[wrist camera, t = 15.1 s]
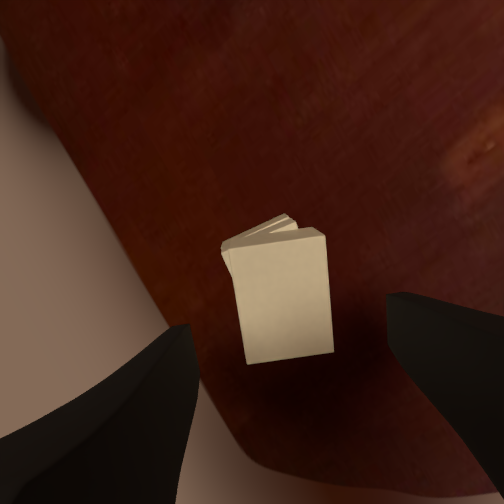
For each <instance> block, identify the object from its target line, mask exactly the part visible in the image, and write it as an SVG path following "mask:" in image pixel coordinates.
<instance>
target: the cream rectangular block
mask: <svg viewBox="0 0 504 504" xmlns="http://www.w3.org/2000/svg"><path fill="white" fill-rule="evenodd" d="M228 254H229V260H230V266H231V272H232V278H233V284H234V290H235V296H236V302H237V308H238V314H239V320H240V326H241V333H242V339H243V345H244V351H245V357H246V363H247V364H248V365H249V364H256V363H262V362H269V361H276V360H283V359H290V358H297V357H304V356H311V355H318V354H325V353H332V352H334V344H333V331H332V318H331V304H330V291H329V278H328V265H327V251H326V238H325V235H324V234H322V233H321V232H319V231H318V230H316V229H315V228H313V227H307V228H301V229H294V230H287V231H280V232H273V233H266V234H259V235H252V236H245V237H238V238H231V239H230V242H229V247H228Z"/></svg>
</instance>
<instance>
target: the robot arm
mask: <svg viewBox="0 0 504 504" xmlns="http://www.w3.org/2000/svg"><path fill="white" fill-rule="evenodd" d="M386 303H387V340H388V346H389V347H390V349H391V351H392V352H393V354H394V355H395V357H396V359H397V360H398V362H399V363H400V365H401V366H402V368H403V369H404V370H405V371H406V373H407V374H408V375H409V376H410V378H411V379H412V380H413V381H414V382H415V384H416V385H417V386H418V387H419V388H420V389H421V391H422V392H423V393H424V394H425V395H426V396H427V398H428V399H429V400H430V401H431V402H432V404H433V405H434V406H435V407H436V408H437V409H438V411H439V412H440V413H441V414H442V415H443V416H444V418H445V419H446V420H447V421H448V422H449V423H450V425H451V426H452V427H453V428H454V430H455V431H456V432H457V433H458V435H459V436H460V437H461V439H462V440H463V441H464V443H465V444H466V445H467V447H468V448H469V450H470V451H471V452H472V454H473V455H474V457H475V458H476V460H477V461H478V462H479V464H480V465H481V467H482V468H483V469H484V471H485V472H486V474H487V475H488V477H489V478H490V480H491V481H492V482H493V484H494V485H495V487H496V488H497V490H498V491H499V493H500V494H501V496H502V497H503V499H504V317H503V316H499V315H495V314H490V313H486V312H482V311H478V310H474V309H470V308H467V307H463V306H459V305H455V304H452V303H448V302H444V301H441V300H437V299H433V298H430V297H426V296H422V295H418V294H413V293H408V292H399V293H392V294H386ZM199 378H200V370H199V365H198V361H197V356H196V352H195V347H194V343H193V338H192V333H191V329H190V324H184V325H177V326H172V327H171V328H169V329H168V330H166V331H165V332H164V333H163V334H161V335H160V336H159V337H158V338H157V339H155V340H154V341H153V342H152V343H151V344H149V345H148V346H147V347H146V348H145V349H143V350H142V351H141V352H140V353H138V354H137V355H136V356H135V357H134V358H132V359H131V360H130V361H128V362H127V363H126V364H124V365H123V366H122V367H121V368H119V369H118V370H117V371H115V372H114V373H113V374H111V375H110V376H108V377H107V378H106V379H104V380H103V381H101V382H100V383H98V384H97V385H95V386H94V387H92V388H91V389H89V390H88V391H86V392H85V393H83V394H81V395H80V396H78V397H77V398H75V399H74V400H72V401H70V402H69V403H66V404H65V405H63V406H61V407H60V408H58V409H56V410H54V411H52V412H50V413H49V414H47V415H45V416H43V417H42V418H40V419H38V420H36V421H34V422H32V423H30V424H29V425H27V426H25V427H23V428H21V429H19V430H17V431H15V432H13V433H11V434H9V435H7V436H5V437H2V438H0V504H175V502H176V495H177V488H178V481H179V476H180V471H181V466H182V462H183V458H184V453H185V449H186V444H187V441H188V436H189V432H190V428H191V424H192V419H193V416H194V411H195V407H196V402H197V397H198V389H199Z"/></svg>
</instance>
